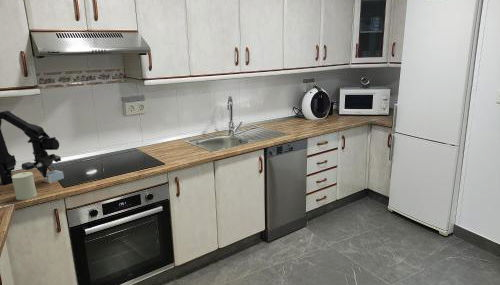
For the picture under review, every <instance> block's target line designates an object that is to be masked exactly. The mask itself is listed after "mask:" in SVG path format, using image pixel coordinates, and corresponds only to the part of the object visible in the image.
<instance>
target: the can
mask: <svg viewBox="0 0 500 285" xmlns="http://www.w3.org/2000/svg"><path fill="white" fill-rule="evenodd" d="M12 181H13V183H12V185H13V190H14V193H15V199H16V200H17V201H26V200H30V199H33V198H35V197H36V196H37V195H38V193H37V188H36V184H35V179H34V173H33V172H32V171H23V172H18V173H14V174H12Z"/></svg>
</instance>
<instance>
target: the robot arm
mask: <svg viewBox="0 0 500 285" xmlns="http://www.w3.org/2000/svg"><path fill="white" fill-rule="evenodd" d="M2 120H4V121H6V122H7V123H10V124H11V125H12V126H15V127H16V128H18V129H20V130H22V132H23V133H24V135H25V136H26V137H28V138H29V140H28V141H27V143H28V144H30V143H31V144H32V150H33V151H32V155H33V156H34V159H33V161H34V162H30V161H27V162H23V163H21V169H22V170H25V171H29V170H33V169H36V170H37V171H39V173H40V175H41V176H42V178H43V177H46V173H48V168H49V167H50V166H52V165H53V162H55V163H59V162H61V161H62V157H61V156H60V155H56V154H55V153H52V154H48V151H57V150H59V148H60V142H59V140H58V139H56V137H55V136H53V137H50V136H49V134H48V133H47V132H46V131H45V130H44V128H43V127H41V126H40V125H37V124H33V123H29V122H27V121H26V120H24V119H22V118H20V117H19V116H18V115H15V114H14V113H12V112H11V111H9V110H4V111H0V185H2V186H6V185H9V184H13V181H12V176H13V173H12V172H13V171H14V170H15V167H16V165H17V162H18V161H17V160H16V158H15V155H14V154H13V155H12V154H10V152H9V151H8V147H7V144H6V141H5V138H4V135H3V132H2V124H3V123H2Z"/></svg>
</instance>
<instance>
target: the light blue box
mask: <svg viewBox="0 0 500 285" xmlns="http://www.w3.org/2000/svg"><path fill="white" fill-rule="evenodd" d="M64 176H65V175H64V171H61V170H58V169H56V170H52V171H49V172H48V171H47V173H46V177H43V176H42V180H43V182H46V183H50V184H51V183H54V182H58V181H61V180H63V179H65V178H64Z"/></svg>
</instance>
